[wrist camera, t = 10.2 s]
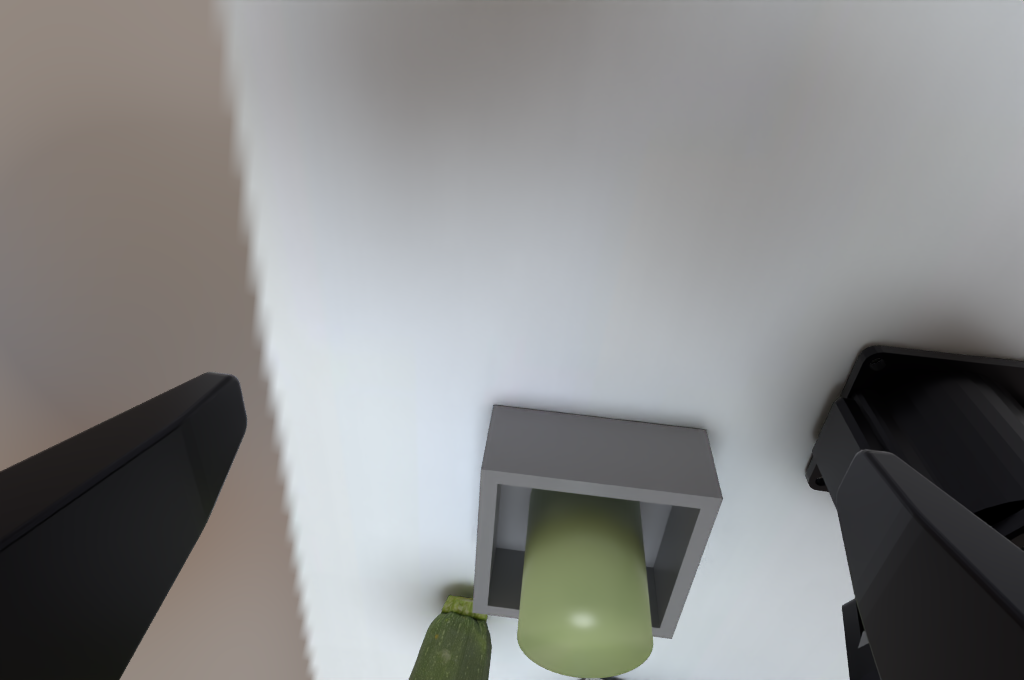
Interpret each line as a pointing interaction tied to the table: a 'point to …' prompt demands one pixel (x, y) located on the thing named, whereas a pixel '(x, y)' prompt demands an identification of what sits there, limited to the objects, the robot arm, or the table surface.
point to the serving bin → (598, 472)
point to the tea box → (593, 679)
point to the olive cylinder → (584, 586)
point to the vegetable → (455, 644)
